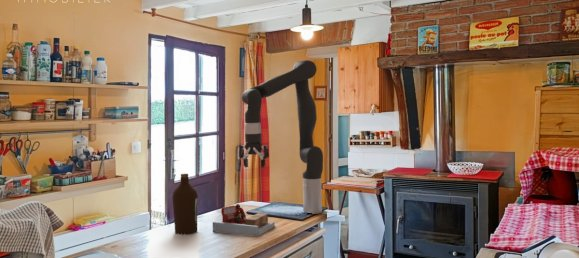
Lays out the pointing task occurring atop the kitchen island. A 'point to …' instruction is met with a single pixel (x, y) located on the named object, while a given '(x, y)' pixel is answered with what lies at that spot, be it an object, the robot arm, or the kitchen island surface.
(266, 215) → the wing block
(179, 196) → the olive oil
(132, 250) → the kitchen island surface
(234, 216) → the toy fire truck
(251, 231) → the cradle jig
